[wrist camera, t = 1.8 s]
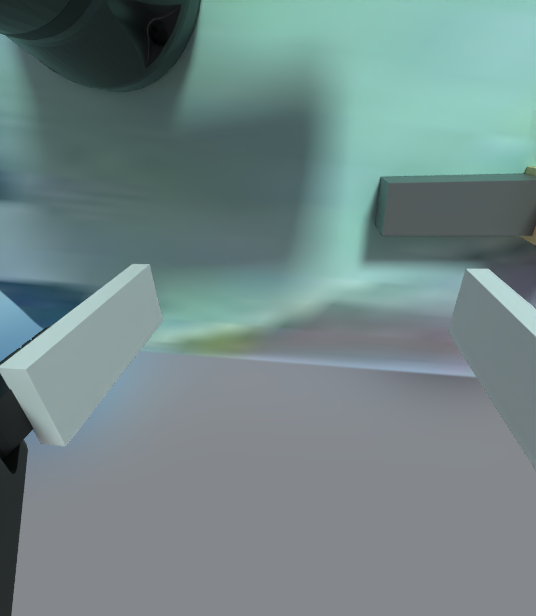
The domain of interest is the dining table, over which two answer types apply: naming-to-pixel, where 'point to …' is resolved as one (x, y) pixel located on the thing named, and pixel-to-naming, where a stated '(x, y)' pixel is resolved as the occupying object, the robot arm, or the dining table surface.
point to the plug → (458, 205)
